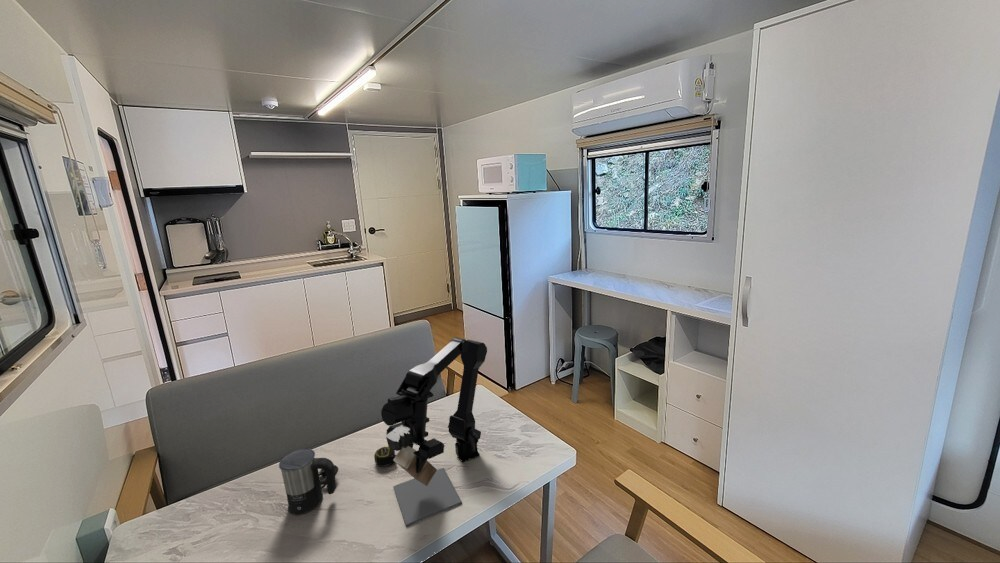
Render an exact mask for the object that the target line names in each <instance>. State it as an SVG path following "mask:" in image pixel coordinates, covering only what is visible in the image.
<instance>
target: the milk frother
mask: <svg viewBox="0 0 1000 563" xmlns="http://www.w3.org/2000/svg"><path fill="white" fill-rule="evenodd" d="M315 456H316V453H315V451H314V450H313V449H311V448H302V449H297V450H295V451H292V452H290V453H289V454H286V456H284V457H283V458H282V459H280V461H279V462H278V468H279V469H280V471H281V477H282V479H283V485H284V489H285V494H286V498H287V505H288V506H287V510H288V512H289V513H290V514H291V515H295V516H297V515H298V516H299V515H304V514H307V513H309V512H311V511H313V510H314V509H315V508H317V507H318V506H319V505H320V504H321V503H322V501H323V499H324V494H323V489H324V488H325V487H326V489H327V494H328V495H333V494H334V493H335V491H336V489H337V483H336V476H337V474H338V472H339V467H338V466H337V465H335V464H334V462H333V461H332V460H331V459H329V458H326V457H315ZM320 477H322V478H323V479H324V480H321V478H320Z"/></svg>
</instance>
